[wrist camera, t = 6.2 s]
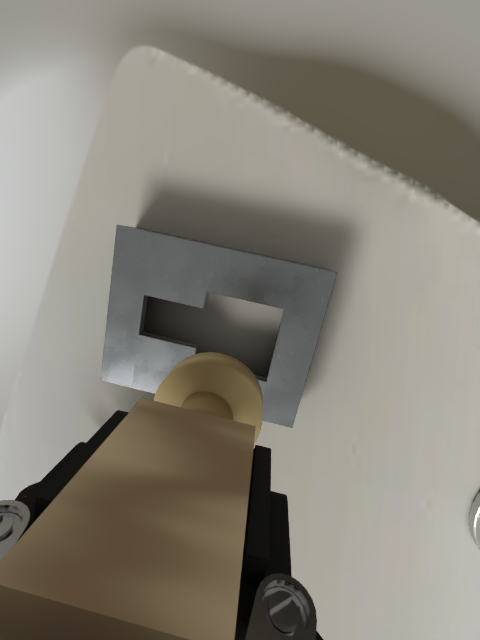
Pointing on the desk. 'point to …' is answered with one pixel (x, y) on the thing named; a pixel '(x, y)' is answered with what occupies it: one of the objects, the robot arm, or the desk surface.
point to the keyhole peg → (147, 521)
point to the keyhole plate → (192, 289)
